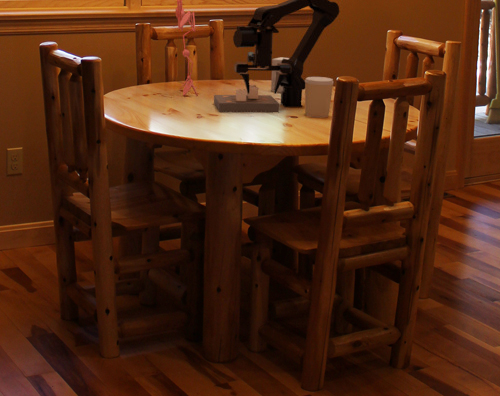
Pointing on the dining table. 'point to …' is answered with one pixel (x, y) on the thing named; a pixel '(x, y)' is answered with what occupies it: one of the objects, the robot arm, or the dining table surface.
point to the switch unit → (246, 104)
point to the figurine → (182, 21)
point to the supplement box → (275, 62)
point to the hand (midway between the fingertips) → (261, 93)
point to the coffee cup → (318, 96)
